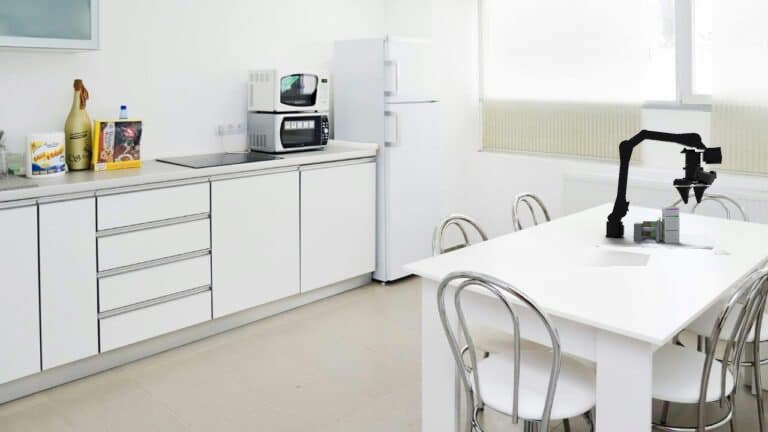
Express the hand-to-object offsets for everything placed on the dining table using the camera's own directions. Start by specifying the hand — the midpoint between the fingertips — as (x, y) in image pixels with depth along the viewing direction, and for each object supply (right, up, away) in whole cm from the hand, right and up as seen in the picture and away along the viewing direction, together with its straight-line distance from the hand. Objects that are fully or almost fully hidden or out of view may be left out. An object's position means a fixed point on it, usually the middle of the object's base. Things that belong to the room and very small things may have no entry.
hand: (692, 203), depth 268 cm
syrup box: (-8, -16, +1) cm, 18 cm away
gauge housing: (-15, -15, +6) cm, 22 cm away
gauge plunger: (-15, -15, +7) cm, 22 cm away
